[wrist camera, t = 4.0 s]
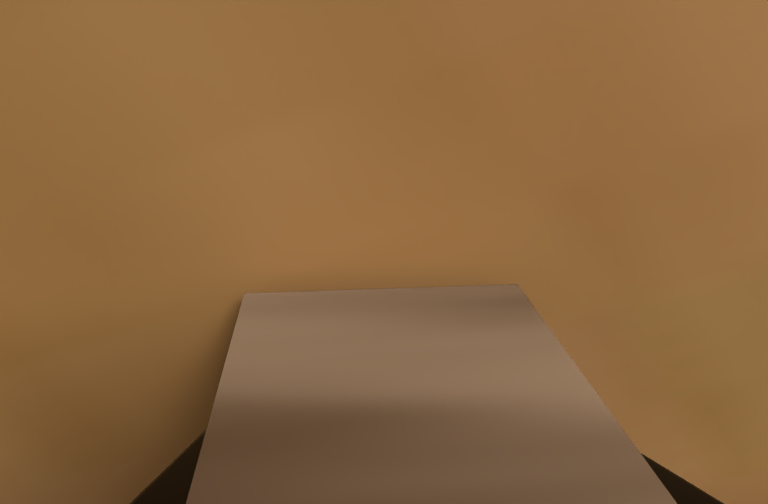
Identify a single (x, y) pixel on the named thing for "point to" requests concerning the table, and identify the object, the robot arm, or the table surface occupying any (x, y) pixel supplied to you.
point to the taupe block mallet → (410, 406)
